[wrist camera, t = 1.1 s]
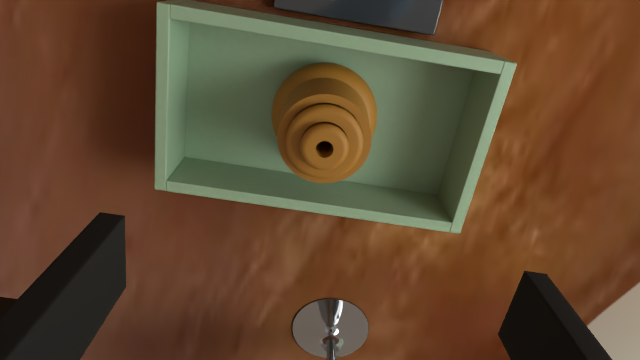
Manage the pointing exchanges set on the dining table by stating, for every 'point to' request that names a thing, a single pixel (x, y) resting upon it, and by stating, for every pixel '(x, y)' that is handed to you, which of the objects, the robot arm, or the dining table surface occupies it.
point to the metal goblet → (330, 328)
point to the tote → (256, 123)
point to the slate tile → (374, 12)
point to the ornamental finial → (324, 121)
